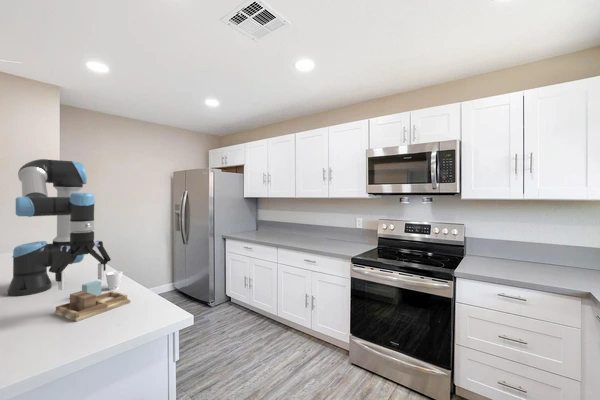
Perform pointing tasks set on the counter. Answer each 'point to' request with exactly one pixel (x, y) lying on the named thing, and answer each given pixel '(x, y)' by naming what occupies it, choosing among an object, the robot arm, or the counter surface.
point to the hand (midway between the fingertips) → (82, 284)
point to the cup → (114, 279)
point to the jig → (102, 305)
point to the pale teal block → (92, 287)
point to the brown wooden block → (82, 301)
